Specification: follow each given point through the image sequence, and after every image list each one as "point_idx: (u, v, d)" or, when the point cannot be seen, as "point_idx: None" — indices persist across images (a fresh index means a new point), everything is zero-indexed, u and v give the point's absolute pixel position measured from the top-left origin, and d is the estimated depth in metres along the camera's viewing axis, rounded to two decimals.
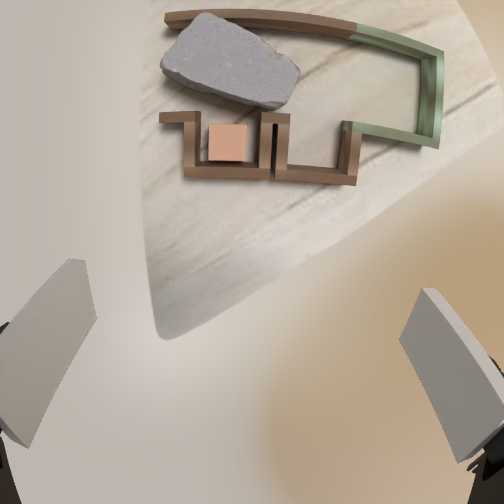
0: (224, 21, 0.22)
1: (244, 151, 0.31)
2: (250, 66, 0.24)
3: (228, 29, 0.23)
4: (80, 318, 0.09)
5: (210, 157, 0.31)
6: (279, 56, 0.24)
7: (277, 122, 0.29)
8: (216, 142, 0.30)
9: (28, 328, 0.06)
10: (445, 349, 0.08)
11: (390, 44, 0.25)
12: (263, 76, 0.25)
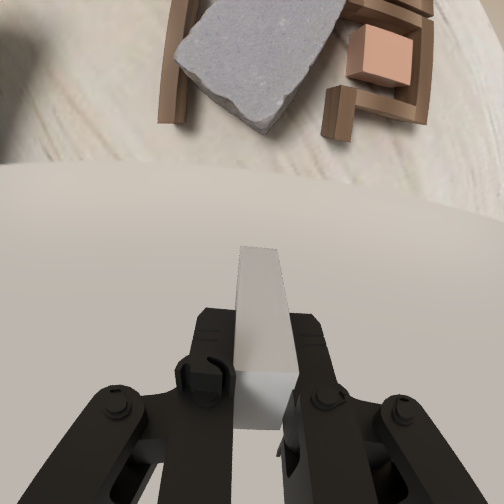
0: (199, 24, 0.13)
1: (401, 37, 0.15)
2: None
3: (215, 18, 0.13)
4: None
5: (406, 81, 0.17)
6: None
7: None
8: (388, 67, 0.17)
9: (262, 307, 0.09)
10: None
11: None
12: None
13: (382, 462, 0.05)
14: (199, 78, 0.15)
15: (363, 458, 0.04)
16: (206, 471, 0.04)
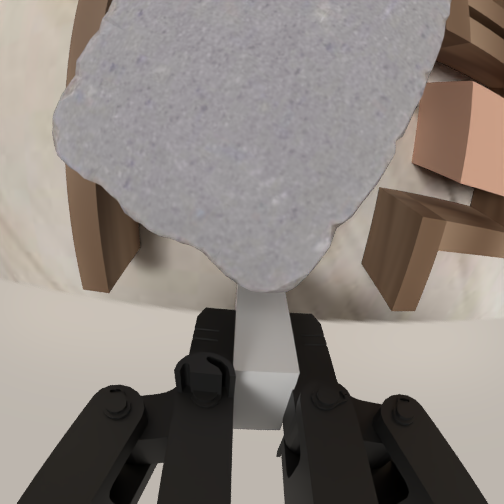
0: (93, 44, 0.04)
1: None
2: None
3: (134, 18, 0.04)
4: None
5: None
6: None
7: (466, 5, 0.05)
8: (496, 172, 0.08)
9: (262, 307, 0.09)
10: None
11: None
12: None
13: (382, 462, 0.05)
14: (113, 194, 0.06)
15: (363, 458, 0.04)
16: (206, 471, 0.04)
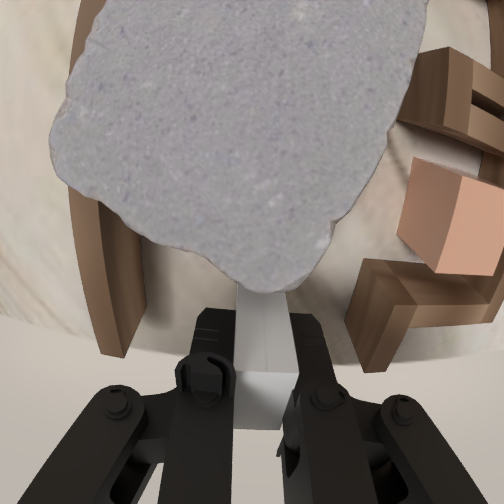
0: (80, 65, 0.05)
1: None
2: None
3: (117, 37, 0.05)
4: None
5: (490, 271, 0.10)
6: None
7: (469, 90, 0.07)
8: (473, 257, 0.10)
9: (262, 307, 0.09)
10: None
11: None
12: None
13: (382, 462, 0.05)
14: (114, 209, 0.06)
15: (363, 458, 0.04)
16: (206, 471, 0.04)
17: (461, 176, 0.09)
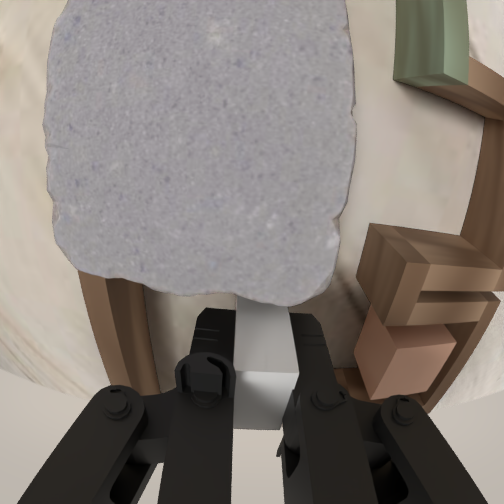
0: (51, 170, 0.06)
1: (441, 346, 0.12)
2: None
3: (69, 134, 0.05)
4: None
5: (424, 389, 0.14)
6: None
7: (417, 292, 0.10)
8: (405, 386, 0.14)
9: (262, 307, 0.09)
10: None
11: None
12: None
13: (382, 462, 0.05)
14: None
15: (363, 457, 0.04)
16: (206, 471, 0.04)
17: (396, 348, 0.12)
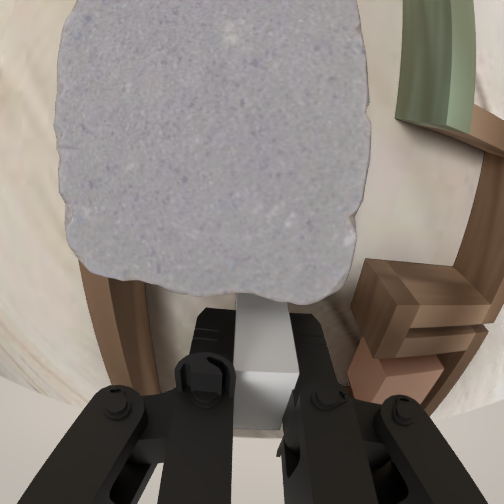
0: (63, 172, 0.06)
1: (429, 372, 0.13)
2: None
3: (81, 135, 0.06)
4: None
5: None
6: None
7: (406, 330, 0.11)
8: None
9: (262, 307, 0.09)
10: None
11: None
12: None
13: (382, 462, 0.05)
14: (153, 282, 0.07)
15: (363, 458, 0.04)
16: (206, 471, 0.04)
17: (385, 376, 0.13)
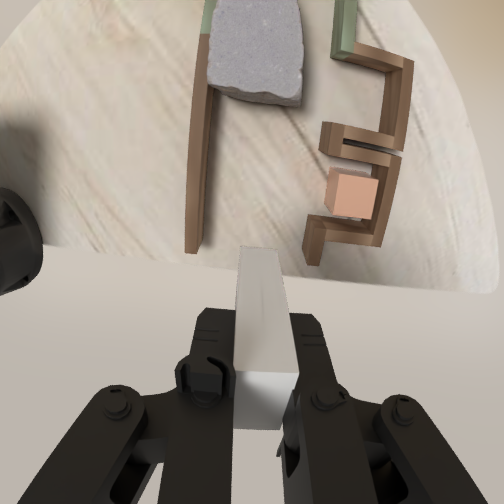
0: (211, 52, 0.19)
1: (368, 179, 0.26)
2: (255, 3, 0.17)
3: (220, 43, 0.19)
4: None
5: (368, 216, 0.27)
6: None
7: (341, 138, 0.24)
8: (354, 208, 0.27)
9: (262, 306, 0.09)
10: None
11: None
12: None
13: (382, 462, 0.05)
14: (236, 87, 0.20)
15: (363, 458, 0.04)
16: (206, 471, 0.04)
17: (339, 173, 0.26)
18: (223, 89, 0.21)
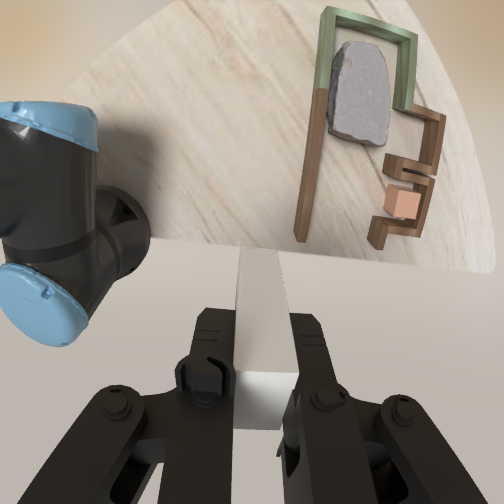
0: (337, 108, 0.31)
1: (415, 193, 0.38)
2: (364, 77, 0.29)
3: (343, 103, 0.30)
4: None
5: (414, 217, 0.39)
6: (346, 59, 0.28)
7: (402, 167, 0.36)
8: (405, 212, 0.39)
9: (262, 307, 0.09)
10: None
11: None
12: (367, 66, 0.28)
13: (382, 462, 0.05)
14: (350, 135, 0.32)
15: (363, 458, 0.04)
16: (206, 471, 0.04)
17: (398, 190, 0.38)
18: (340, 133, 0.33)
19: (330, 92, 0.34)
